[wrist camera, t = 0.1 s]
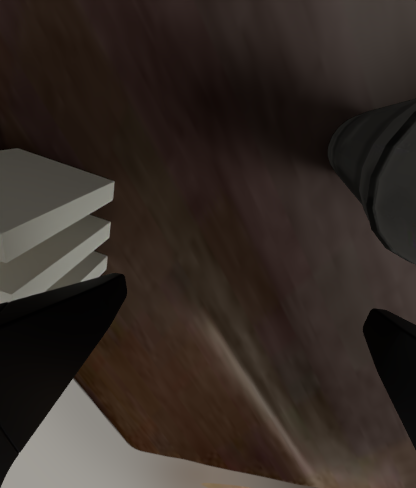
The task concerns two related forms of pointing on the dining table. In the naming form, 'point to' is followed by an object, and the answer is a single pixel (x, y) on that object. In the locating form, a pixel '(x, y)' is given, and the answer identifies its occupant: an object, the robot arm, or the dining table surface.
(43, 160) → the domino
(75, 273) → the domino
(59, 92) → the dining table surface
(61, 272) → the domino
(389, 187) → the beverage cup
